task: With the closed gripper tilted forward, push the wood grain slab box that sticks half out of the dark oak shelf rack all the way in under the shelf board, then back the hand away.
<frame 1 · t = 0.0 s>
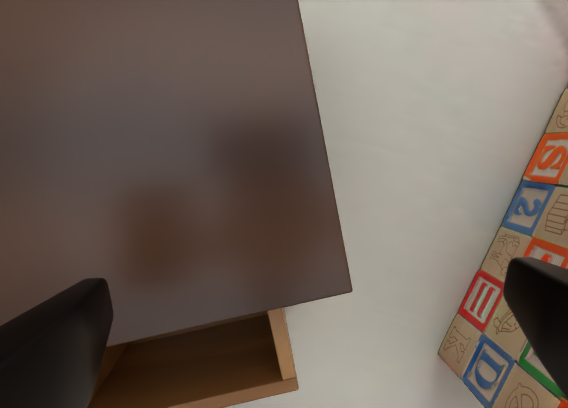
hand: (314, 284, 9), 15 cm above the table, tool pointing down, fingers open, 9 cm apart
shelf: (161, 155, 24), on the table
wood grain slab box: (185, 255, 25), on the table
stack of blocks: (548, 219, 26), on the table
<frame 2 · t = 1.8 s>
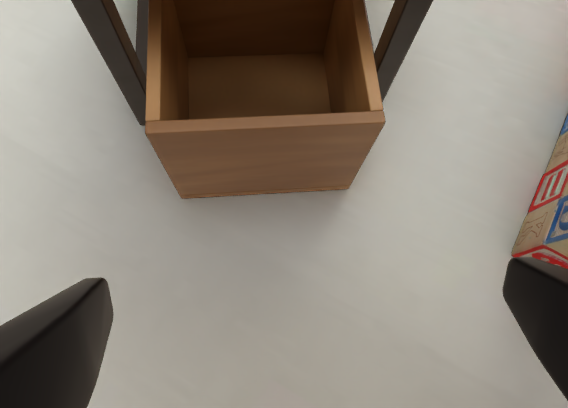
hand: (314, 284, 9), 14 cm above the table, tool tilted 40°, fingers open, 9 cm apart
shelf: (255, 41, 28), on the table
wood grain slab box: (260, 119, 26), on the table
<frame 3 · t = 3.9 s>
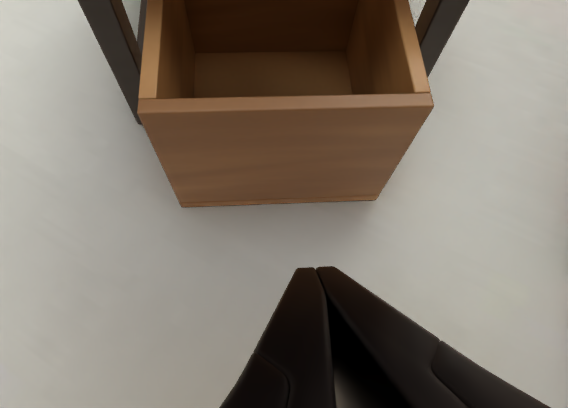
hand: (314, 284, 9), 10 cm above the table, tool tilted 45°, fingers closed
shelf: (269, 39, 25), on the table
wood grain slab box: (275, 121, 23), on the table
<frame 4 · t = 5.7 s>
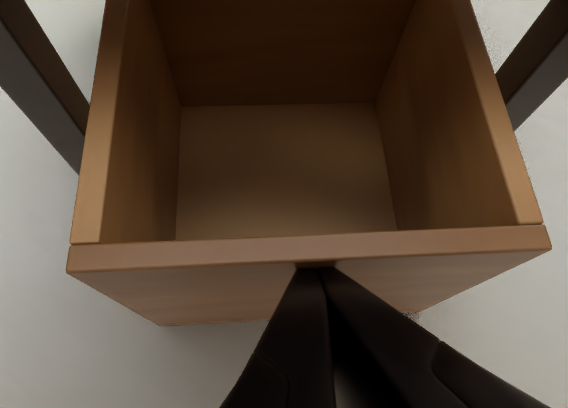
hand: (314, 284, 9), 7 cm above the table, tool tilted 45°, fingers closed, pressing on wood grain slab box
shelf: (277, 85, 20), on the table
wood grain slab box: (284, 198, 18), on the table, touching gripper
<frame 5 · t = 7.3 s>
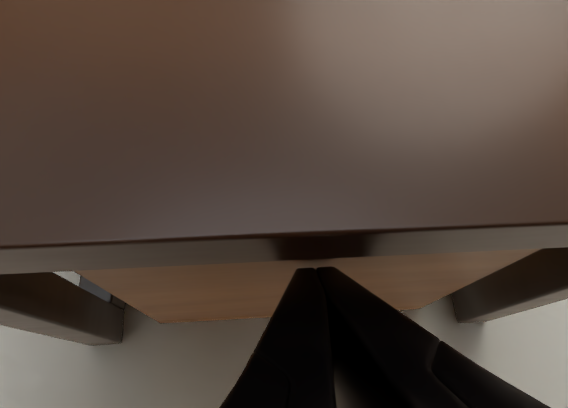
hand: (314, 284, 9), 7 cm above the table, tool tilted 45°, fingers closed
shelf: (284, 188, 18), on the table
wood grain slab box: (284, 196, 18), on the table
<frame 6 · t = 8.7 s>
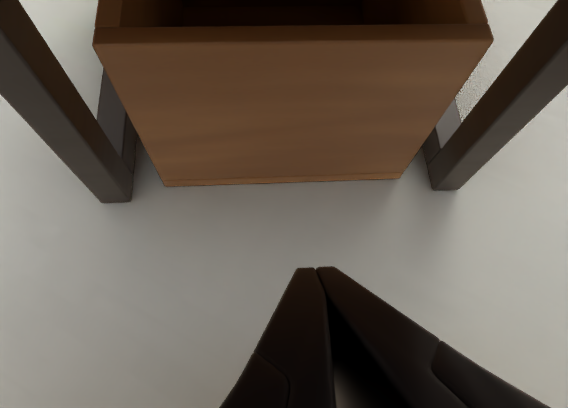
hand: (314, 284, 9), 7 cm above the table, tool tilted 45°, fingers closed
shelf: (277, 80, 20), on the table
wood grain slab box: (277, 86, 19), on the table
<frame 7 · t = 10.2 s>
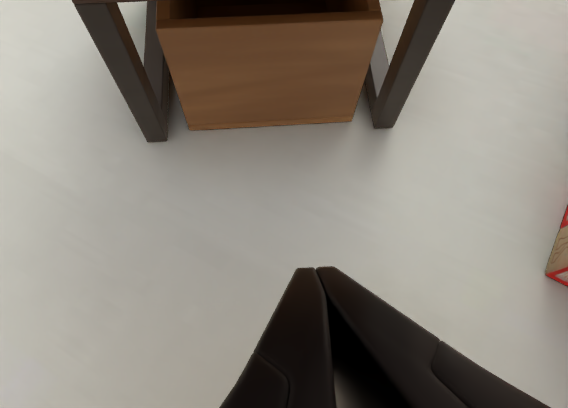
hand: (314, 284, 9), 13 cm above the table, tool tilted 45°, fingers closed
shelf: (265, 57, 28), on the table
wood grain slab box: (266, 61, 27), on the table
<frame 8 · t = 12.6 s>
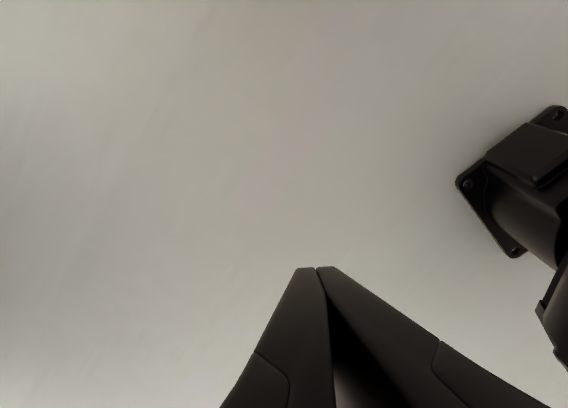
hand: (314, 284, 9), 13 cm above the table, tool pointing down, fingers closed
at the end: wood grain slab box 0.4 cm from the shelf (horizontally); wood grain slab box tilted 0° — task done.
